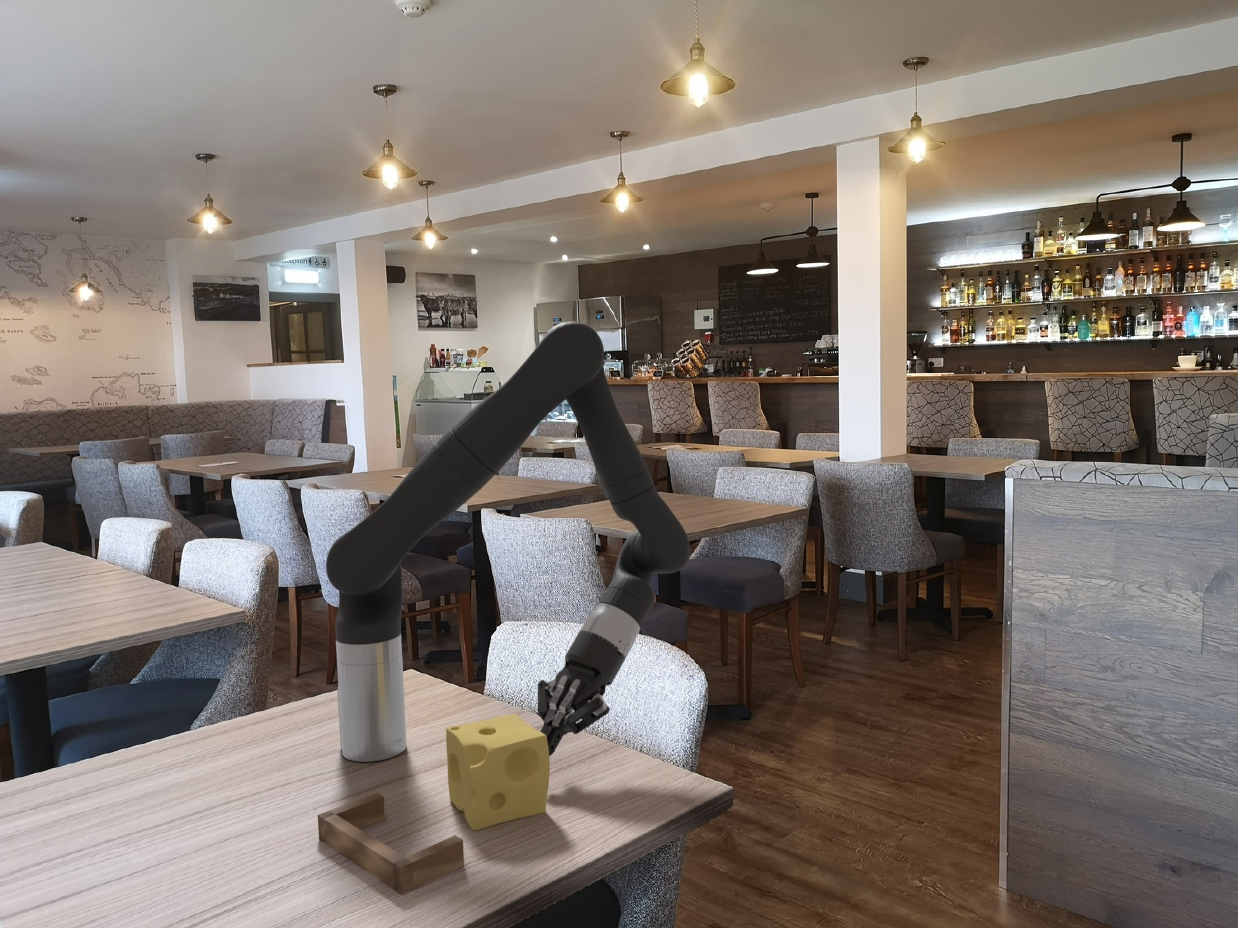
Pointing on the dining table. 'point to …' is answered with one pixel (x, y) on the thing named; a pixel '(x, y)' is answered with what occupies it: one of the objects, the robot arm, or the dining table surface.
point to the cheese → (497, 770)
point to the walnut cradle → (385, 847)
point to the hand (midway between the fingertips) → (539, 754)
